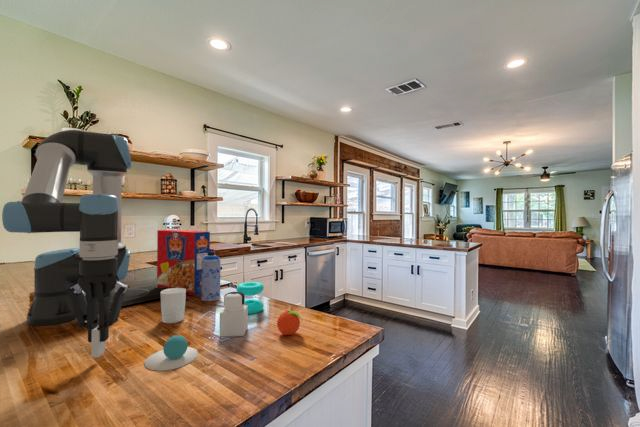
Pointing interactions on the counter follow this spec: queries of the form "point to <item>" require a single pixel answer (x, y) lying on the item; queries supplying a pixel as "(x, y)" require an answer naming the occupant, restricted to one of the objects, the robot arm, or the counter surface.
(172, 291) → the white cup
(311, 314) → the counter surface
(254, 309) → the donuts
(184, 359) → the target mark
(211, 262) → the aerosol can
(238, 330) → the medicine bottle
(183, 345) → the ball
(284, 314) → the clementine
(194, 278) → the pasta box
